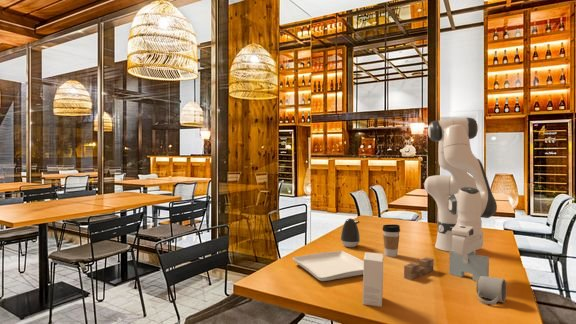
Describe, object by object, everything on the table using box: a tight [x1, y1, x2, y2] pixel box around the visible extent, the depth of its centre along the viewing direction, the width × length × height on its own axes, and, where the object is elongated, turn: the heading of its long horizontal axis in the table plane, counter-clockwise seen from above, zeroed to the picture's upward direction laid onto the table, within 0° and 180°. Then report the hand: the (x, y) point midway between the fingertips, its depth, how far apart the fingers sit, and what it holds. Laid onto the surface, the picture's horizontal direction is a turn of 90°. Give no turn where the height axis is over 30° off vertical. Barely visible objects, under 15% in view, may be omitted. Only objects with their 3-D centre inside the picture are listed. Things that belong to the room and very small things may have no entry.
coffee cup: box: [382, 224, 401, 258], centre depth 166 cm, size 8×8×15 cm
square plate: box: [292, 250, 364, 282], centre depth 146 cm, size 27×27×4 cm
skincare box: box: [362, 251, 384, 308], centre depth 114 cm, size 8×7×16 cm
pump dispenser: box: [340, 218, 361, 248], centre depth 183 cm, size 10×10×15 cm
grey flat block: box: [448, 249, 490, 282], centre depth 136 cm, size 14×3×10 cm, turn 39°
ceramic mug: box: [475, 276, 508, 306], centre depth 115 cm, size 11×8×8 cm
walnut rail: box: [403, 256, 435, 281], centre depth 140 cm, size 18×3×5 cm, turn 129°
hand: (468, 261), depth 136 cm, fingers closed on grey flat block, 3 cm apart
